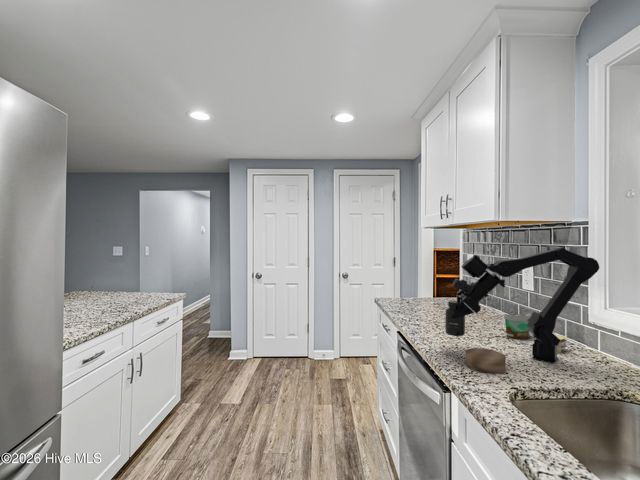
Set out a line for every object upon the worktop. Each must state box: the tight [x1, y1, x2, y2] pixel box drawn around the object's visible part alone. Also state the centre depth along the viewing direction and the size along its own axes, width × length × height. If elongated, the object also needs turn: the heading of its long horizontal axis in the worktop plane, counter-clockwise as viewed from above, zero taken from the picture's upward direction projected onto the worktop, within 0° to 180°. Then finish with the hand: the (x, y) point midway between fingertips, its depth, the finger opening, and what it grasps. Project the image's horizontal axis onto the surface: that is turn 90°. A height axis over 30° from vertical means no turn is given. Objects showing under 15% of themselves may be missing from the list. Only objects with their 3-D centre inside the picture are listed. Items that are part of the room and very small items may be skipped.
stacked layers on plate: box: [554, 334, 568, 354], centre depth 129 cm, size 10×9×6 cm
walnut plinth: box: [464, 347, 507, 374], centre depth 113 cm, size 12×12×4 cm
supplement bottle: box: [444, 300, 466, 337], centre depth 127 cm, size 7×7×12 cm
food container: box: [503, 312, 532, 340], centre depth 145 cm, size 12×6×10 cm, turn 105°
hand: (451, 315), depth 127 cm, fingers closed on supplement bottle, 7 cm apart
